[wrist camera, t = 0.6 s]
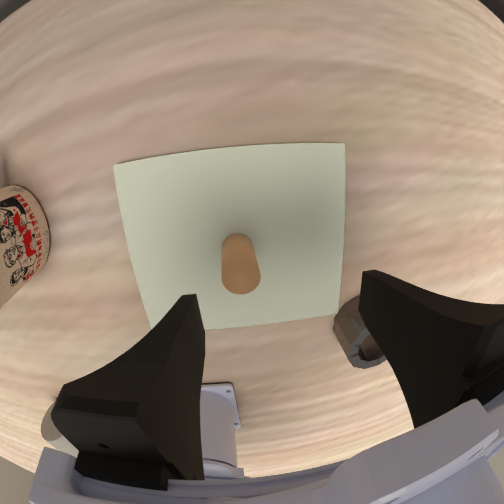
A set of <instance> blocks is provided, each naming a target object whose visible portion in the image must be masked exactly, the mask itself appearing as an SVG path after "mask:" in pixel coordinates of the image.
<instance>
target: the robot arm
mask: <svg viewBox="0 0 504 504" xmlns="http://www.w3.org/2000/svg"><path fill="white" fill-rule="evenodd" d="M358 311H359V313H360V315H361V317H362V320H363V322H364V324H365V326H366V328H367V329H368V331H369V332H370V334H371V335H372V337H373V339H374V340H375V342H376V343H377V345H378V346H379V348H380V349H381V351H382V352H383V354H384V355H385V357H386V358H387V360H388V362H389V363H390V365H391V367H392V369H393V371H394V373H395V375H396V377H397V379H398V382H399V384H400V386H401V389H402V391H403V394H404V396H405V399H406V402H407V405H408V408H409V411H410V414H411V417H412V421H413V425H414V429H413V430H411V431H409V432H406V433H404V434H402V435H399V436H397V437H394V438H392V439H389V440H387V441H384V442H382V443H380V444H378V445H376V446H373V447H371V448H369V449H366V450H364V451H362V452H360V453H358V454H357V455H355V456H353V457H352V458H350V459H346V460H343V461H339V462H336V463H332V464H328V465H324V466H320V467H316V468H311V469H307V470H302V471H296V472H291V473H285V474H279V475H272V476H264V477H256V478H250V477H246V476H244V470H243V468H238V467H237V454H236V441H235V429H240V428H241V423H240V419H239V414H238V409H237V404H236V399H235V394H234V389H233V385H232V384H230V383H225V384H210V385H202V376H203V368H204V359H205V330H204V326H203V322H202V317H201V313H200V308H199V304H198V299H197V294H188V295H182V296H181V297H180V298H179V299H178V300H177V301H176V303H175V304H174V305H173V306H172V307H171V309H170V310H169V311H168V312H167V313H166V315H165V316H164V317H163V318H162V319H161V320H160V321H159V322H158V323H157V324H156V325H155V326H154V328H153V329H152V330H151V331H150V332H149V333H148V334H147V335H146V336H145V337H144V338H142V339H141V340H140V341H139V342H138V343H137V344H135V345H134V346H133V347H132V348H131V349H129V350H128V351H127V352H125V353H124V354H122V355H121V356H119V357H118V358H116V359H115V360H113V361H112V362H110V363H109V364H107V365H105V366H104V367H102V368H100V369H98V370H96V371H94V372H92V373H90V374H88V375H86V376H84V377H82V378H79V379H77V380H74V381H72V382H70V383H67V384H64V385H63V387H62V389H61V391H60V393H59V396H58V398H57V400H56V402H55V404H54V407H53V409H52V411H51V419H52V421H53V424H54V426H55V427H56V428H57V429H58V431H59V432H60V433H61V434H62V435H63V436H64V437H65V438H66V439H67V440H68V441H69V442H70V443H71V444H72V445H73V446H74V447H75V448H76V449H77V450H78V451H79V452H78V456H77V458H76V457H74V456H72V455H70V454H67V453H65V452H61V451H58V450H55V449H51V448H48V447H44V449H43V451H42V454H41V457H40V460H39V463H38V466H37V470H36V473H35V476H34V480H33V483H32V487H31V491H30V494H29V498H28V501H29V502H30V503H31V504H504V490H503V488H502V486H501V484H500V482H499V480H498V478H497V477H496V475H495V473H494V471H493V469H492V468H491V466H490V464H489V462H488V461H487V460H488V459H490V458H491V457H492V456H493V455H494V454H496V453H497V452H498V451H499V450H500V449H501V448H502V447H504V304H483V303H475V302H468V301H463V300H458V299H454V298H450V297H446V296H443V295H439V294H436V293H433V292H430V291H428V290H425V289H422V288H420V287H417V286H415V285H412V284H410V283H408V282H405V281H403V280H401V279H398V278H396V277H393V276H391V275H389V274H386V273H383V272H381V271H377V270H369V271H363V273H362V283H361V291H360V299H359V307H358Z"/></svg>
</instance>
